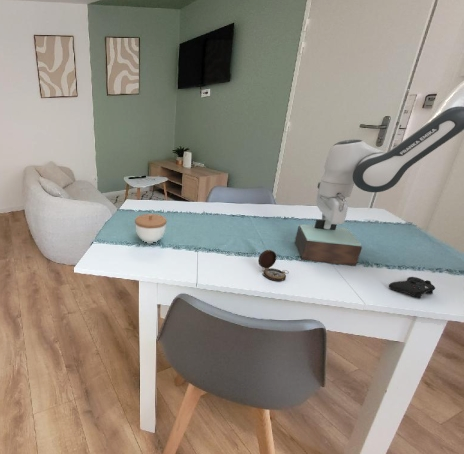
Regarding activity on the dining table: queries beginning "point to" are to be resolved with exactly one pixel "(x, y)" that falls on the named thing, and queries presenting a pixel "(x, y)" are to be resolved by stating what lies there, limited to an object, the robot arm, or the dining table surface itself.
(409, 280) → the gaming controller
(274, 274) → the compass
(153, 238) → the lidded bowl
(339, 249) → the case
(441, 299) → the dining table surface
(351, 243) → the case lid
